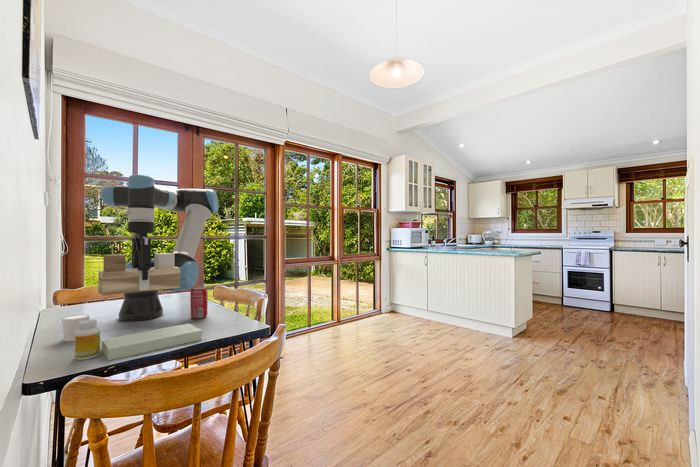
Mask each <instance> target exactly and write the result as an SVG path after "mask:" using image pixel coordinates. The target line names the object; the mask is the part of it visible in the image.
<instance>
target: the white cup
mask: <svg viewBox="0 0 700 467" xmlns="http://www.w3.org/2000/svg"><path fill="white" fill-rule="evenodd" d="M90 318H91V317H90V314H73V315H69V316H64V317H62V318H61V324H62V331H63V332H62V334H63V341H64V342H75V332H76V331H77V330H79V328H78V322H80V321H84V320H90Z"/></svg>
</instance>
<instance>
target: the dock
mask: <svg viewBox="0 0 700 467" xmlns="http://www.w3.org/2000/svg"><path fill="white" fill-rule="evenodd" d="M202 330H203V329H201V328H198V327H197V326H194V325H193V324H191V323H185V324H179V325H172V326H167V327H162V328H158V329H153V330H146V331H142V332H136V333H131V334H126V335H125V334H124V335H120V336H115V337H109V338H103V339H101V351H102V352H103V354H104V356H105V357H106V359H107V360H108V361H112V360H117V359H121V358H126V357H129V356H134V355H139V354H143V353H148V352H151V351H152V352H153V351H157V350H161V349H166V348H170V347H174V346H175V347H176V346H179V345H183V344H187V343H193V342H196V341H201V340H202V337H203V335H202V334H203V333H202Z"/></svg>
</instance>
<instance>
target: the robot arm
mask: <svg viewBox="0 0 700 467" xmlns="http://www.w3.org/2000/svg"><path fill="white" fill-rule="evenodd" d="M101 200H102V202H103V203H104V204H105V205H106V206H107V207H127V210H126V211H125V213H126V214H127V220H129V221H128V222H127V232H128V233H131V234H133V233H134V237H132V239H131V245H132V247H131V261H128V262H126V269H135V268H138V271H139V291H141V290H149V270H150V268H152V267H154V266H155V258H152V254H151V253H152V251H151V250H152V249H151V242H152V239H151V238H150V237H148V234H153V233H154V232H155V223H154V221H155V209H156V208H157V209H158V208H159V209H161V210H164V211H172V212H175V213H177V212H178V213H185V214H186V216H185V219H184V221H183V224H182V226H181V229H180V232H179V234H178V237H177V239H176V242H175V246H174V248H173V250H172V253H174V254H175V264H174V267H179V268H180V288H171V289H161V290H152V291H142V292H133V293H123V295H124V296H123V301H122V304H121V307H120V309H119V312H118V320H119V321H122V322H123V321H124V322H137V321H138V322H139V321H144V320H145V321H146V320H152V319H155V318H159V317H161V316H163V314H164V309H163V306H162V302H161V300H160V297H159V291H160V292H163V291H166V292H168V291H169V292H170V291H171V292H172V291H173V292H174V291H175V292H180V291H189V290H190V289H191V290H192V288H194V286H195V285H196V283H197V281H198V278H199V274H200V273H199V272H200V268H199V266H198V264H197V261H196V259H195V256H196V253H197V250H198V248H199V244H200V241H201V237H202V235H203V231H204V228H205V225H206V222H207V221H208V220H209V219H211V217H212V215H213V214H215V213H216V214H217V213H218V211H219V208H220V207H219V205H220V203H219V198H218V194H217V193H216V191H215V190H214V189H211V188H204V189H203V188H177V189H169V188H167V187H164V186H160V185H156V182H155V178H154V177H153V176H150V175H146V174H145V175H144V174H131V175H129V176H128V181H127V185H116V184H113V185H106V186H104V188H102V189H101Z"/></svg>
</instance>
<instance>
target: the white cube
mask: <svg viewBox="0 0 700 467" xmlns="http://www.w3.org/2000/svg"><path fill="white" fill-rule="evenodd" d="M154 259H155V266H154V268H158V269H162V268H174V264H175V254H174V253H173V252H164V253H163V252H160V253H159V252H157V253H154Z"/></svg>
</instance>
